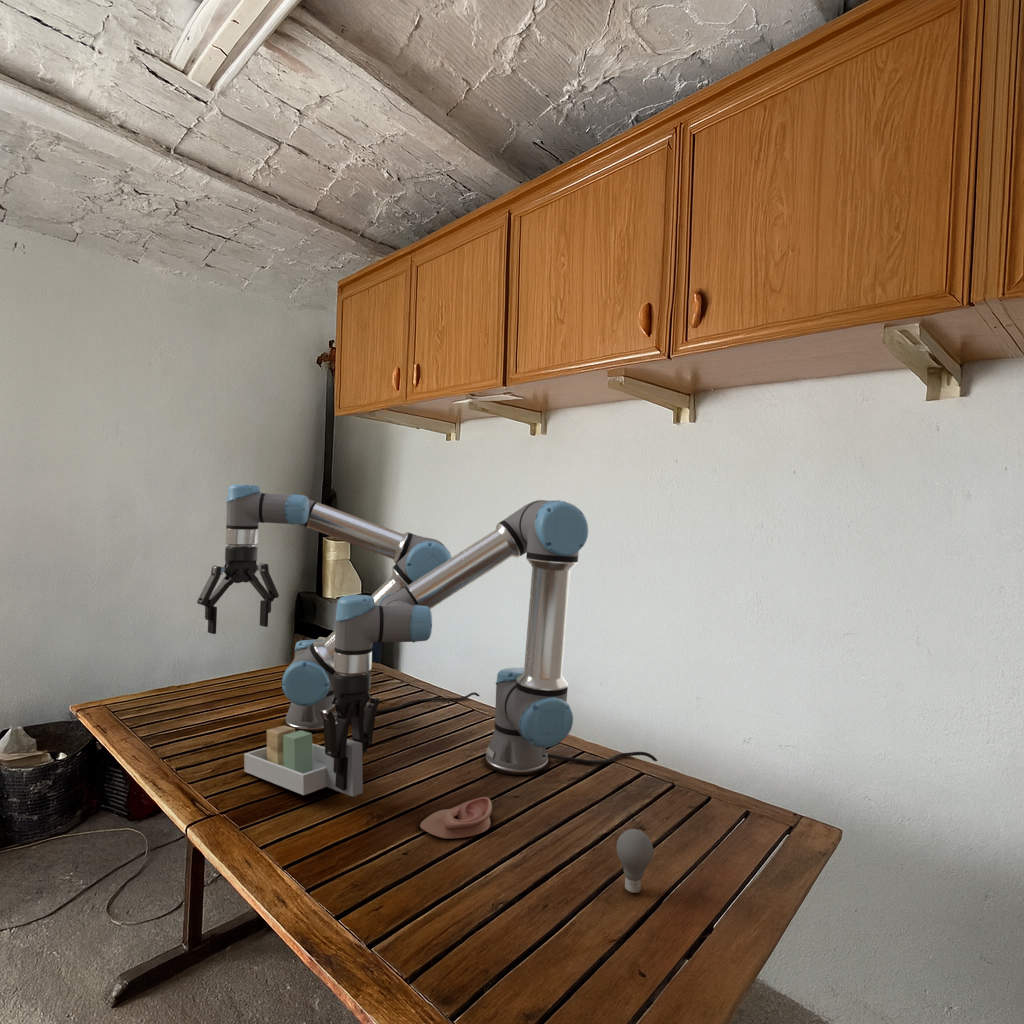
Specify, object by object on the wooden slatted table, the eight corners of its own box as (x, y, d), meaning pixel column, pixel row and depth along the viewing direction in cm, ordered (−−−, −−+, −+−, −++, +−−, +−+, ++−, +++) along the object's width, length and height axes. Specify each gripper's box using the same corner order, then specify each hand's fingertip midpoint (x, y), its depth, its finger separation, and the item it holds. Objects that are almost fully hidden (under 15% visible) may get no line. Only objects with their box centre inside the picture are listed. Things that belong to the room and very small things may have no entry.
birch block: (284, 759, 148) (284, 725, 149) (295, 763, 145) (295, 728, 146) (266, 765, 145) (266, 730, 145) (277, 769, 142) (277, 733, 142)
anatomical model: (414, 813, 120) (434, 787, 131) (414, 834, 120) (433, 806, 131) (482, 823, 117) (496, 795, 129) (481, 844, 118) (495, 815, 129)
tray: (244, 771, 143) (243, 726, 143) (296, 755, 153) (295, 713, 153) (330, 806, 123) (329, 753, 123) (383, 784, 133) (382, 736, 133)
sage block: (301, 765, 144) (300, 730, 144) (312, 769, 141) (312, 733, 142) (283, 771, 141) (282, 735, 141) (294, 775, 138) (294, 738, 138)
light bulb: (610, 879, 108) (613, 822, 108) (644, 879, 109) (647, 822, 109) (619, 902, 102) (622, 840, 102) (655, 901, 103) (658, 840, 103)
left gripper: (278, 543, 172) (275, 621, 172) (183, 545, 152) (180, 633, 153) (294, 545, 167) (291, 625, 167) (198, 548, 148) (195, 639, 148)
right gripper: (371, 661, 138) (366, 768, 138) (308, 674, 126) (303, 791, 126) (393, 668, 133) (388, 779, 134) (331, 682, 121) (325, 804, 122)
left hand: (238, 629), depth 160 cm, fingers open, 13 cm apart
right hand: (347, 785), depth 130 cm, fingers closed on tray, 2 cm apart
